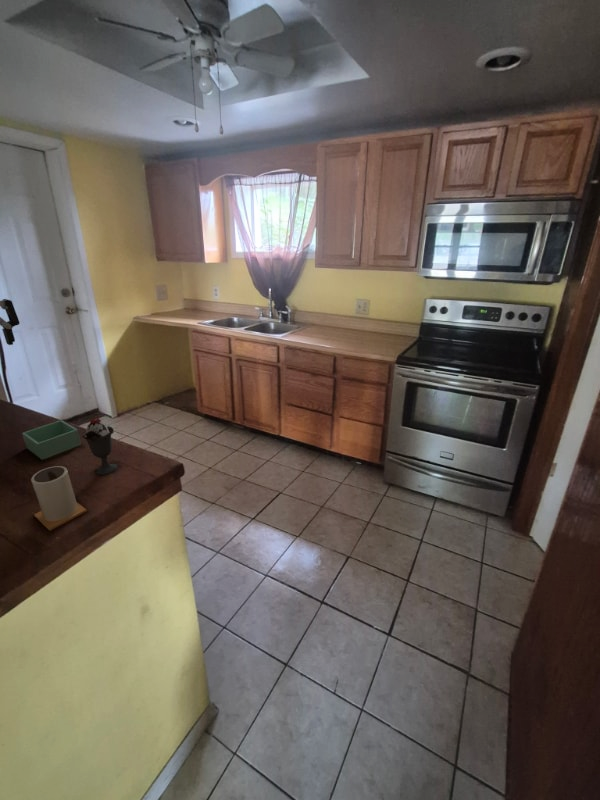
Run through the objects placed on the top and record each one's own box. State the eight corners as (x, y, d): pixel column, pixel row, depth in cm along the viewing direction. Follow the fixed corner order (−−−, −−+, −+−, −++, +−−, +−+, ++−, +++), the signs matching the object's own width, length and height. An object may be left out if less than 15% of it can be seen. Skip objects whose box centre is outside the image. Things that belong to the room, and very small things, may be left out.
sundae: (111, 458, 95) (99, 405, 89) (126, 467, 91) (114, 412, 85) (85, 470, 90) (70, 414, 84) (100, 480, 86) (85, 422, 80)
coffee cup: (51, 526, 72) (38, 487, 68) (38, 513, 75) (25, 475, 71) (83, 509, 76) (72, 472, 72) (69, 498, 79) (58, 462, 76)
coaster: (49, 531, 71) (49, 529, 71) (34, 516, 75) (33, 514, 75) (86, 511, 76) (86, 509, 76) (70, 498, 80) (70, 496, 80)
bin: (42, 461, 93) (37, 444, 91) (27, 449, 98) (21, 432, 96) (82, 446, 100) (77, 429, 98) (65, 435, 105) (61, 419, 103)
